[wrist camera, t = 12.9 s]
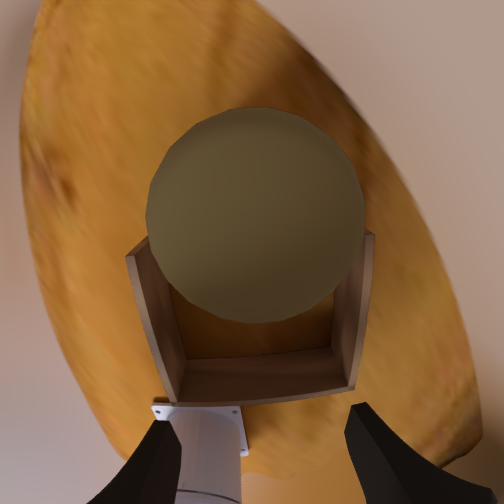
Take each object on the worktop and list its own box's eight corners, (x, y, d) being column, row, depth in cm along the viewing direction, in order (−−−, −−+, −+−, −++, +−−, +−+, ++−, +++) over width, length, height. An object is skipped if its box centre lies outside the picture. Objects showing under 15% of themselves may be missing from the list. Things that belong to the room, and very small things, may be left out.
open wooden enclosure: (336, 350, 20) (354, 389, 16) (181, 364, 20) (172, 406, 16) (343, 215, 17) (374, 234, 13) (151, 232, 17) (125, 256, 13)
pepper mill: (253, 254, 17) (270, 398, 7) (172, 190, 16) (62, 255, 5) (322, 178, 16) (448, 223, 5) (241, 108, 14) (242, 14, 4)
